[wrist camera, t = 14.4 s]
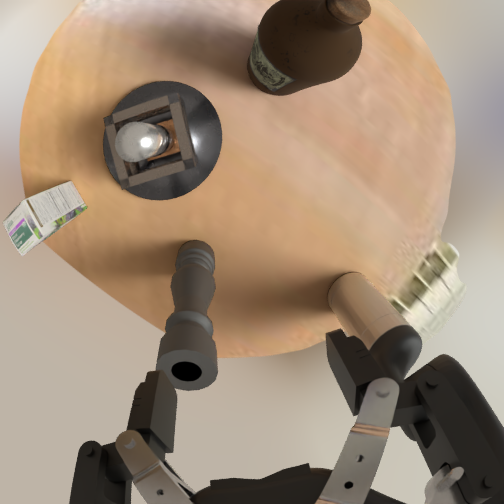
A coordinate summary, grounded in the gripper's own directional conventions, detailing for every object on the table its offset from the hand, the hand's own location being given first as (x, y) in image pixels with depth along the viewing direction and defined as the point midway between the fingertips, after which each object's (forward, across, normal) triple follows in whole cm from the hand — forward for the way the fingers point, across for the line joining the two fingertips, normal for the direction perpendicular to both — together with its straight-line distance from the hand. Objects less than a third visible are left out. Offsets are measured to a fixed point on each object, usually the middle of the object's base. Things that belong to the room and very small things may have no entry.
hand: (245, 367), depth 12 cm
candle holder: (+34, +7, +7) cm, 35 cm away
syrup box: (+33, +25, -9) cm, 43 cm away
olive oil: (+33, -13, -20) cm, 41 cm away
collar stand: (+33, +7, -13) cm, 36 cm away
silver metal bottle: (+31, +7, -13) cm, 34 cm away
